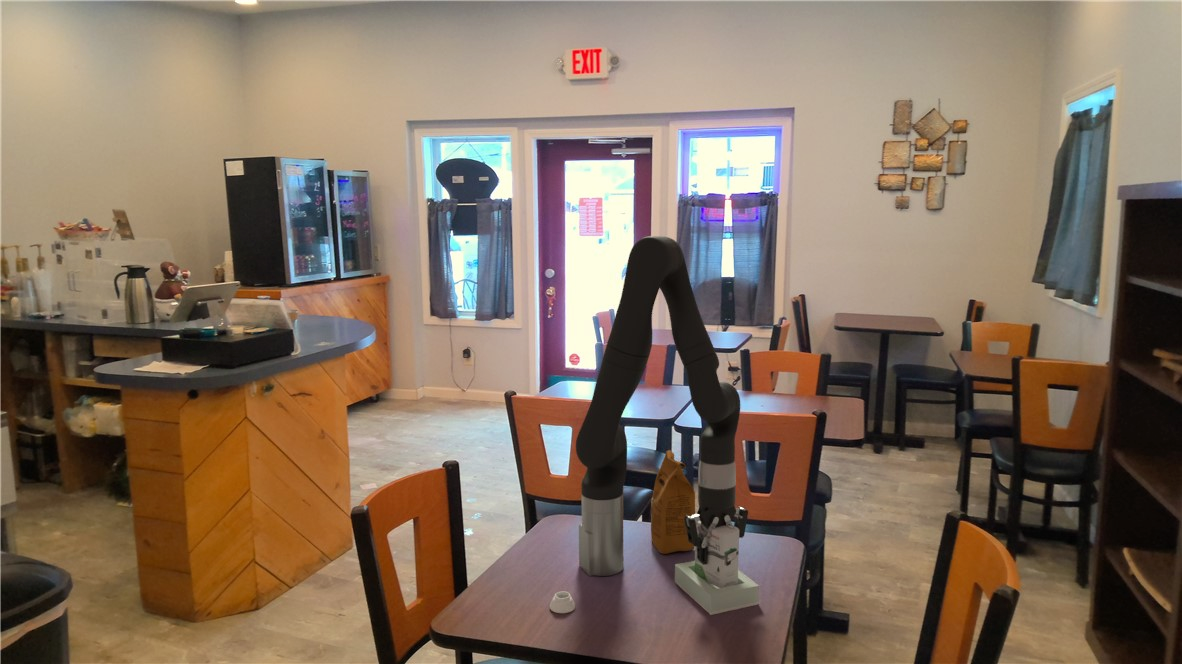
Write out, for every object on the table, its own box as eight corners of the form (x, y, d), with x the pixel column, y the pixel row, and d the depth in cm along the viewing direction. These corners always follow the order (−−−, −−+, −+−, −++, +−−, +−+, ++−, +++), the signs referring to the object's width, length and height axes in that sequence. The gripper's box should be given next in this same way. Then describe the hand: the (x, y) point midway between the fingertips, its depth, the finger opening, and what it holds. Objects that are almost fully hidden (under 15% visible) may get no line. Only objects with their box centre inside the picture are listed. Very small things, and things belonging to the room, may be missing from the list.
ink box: (693, 574, 159) (693, 520, 158) (711, 567, 162) (711, 514, 160) (721, 590, 152) (722, 533, 150) (739, 583, 155) (740, 528, 153)
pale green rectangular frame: (710, 614, 148) (711, 595, 148) (674, 582, 162) (674, 564, 162) (758, 604, 152) (759, 585, 152) (719, 573, 166) (719, 555, 166)
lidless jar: (570, 600, 155) (546, 605, 153) (570, 587, 155) (546, 591, 153) (578, 612, 150) (554, 617, 149) (578, 598, 150) (554, 602, 148)
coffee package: (686, 533, 188) (687, 447, 185) (699, 554, 176) (700, 462, 173) (646, 535, 187) (647, 448, 184) (656, 556, 175) (657, 464, 172)
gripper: (737, 471, 160) (736, 547, 162) (676, 480, 155) (676, 559, 157) (757, 482, 153) (756, 561, 156) (694, 492, 148) (694, 574, 150)
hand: (716, 560), depth 156 cm, fingers closed on ink box, 5 cm apart
